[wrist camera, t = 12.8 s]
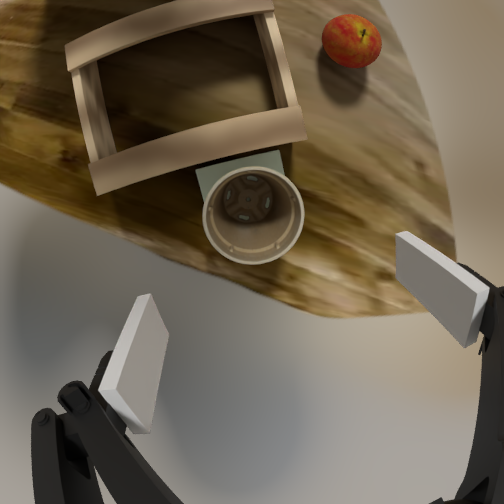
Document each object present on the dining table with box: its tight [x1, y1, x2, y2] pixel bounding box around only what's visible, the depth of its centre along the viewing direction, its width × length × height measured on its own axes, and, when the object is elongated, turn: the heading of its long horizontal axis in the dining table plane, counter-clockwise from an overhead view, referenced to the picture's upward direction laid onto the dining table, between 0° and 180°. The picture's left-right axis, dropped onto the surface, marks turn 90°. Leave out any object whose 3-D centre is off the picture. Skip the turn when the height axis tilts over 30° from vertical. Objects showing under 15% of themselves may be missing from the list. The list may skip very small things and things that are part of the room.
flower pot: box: [202, 166, 304, 265], centre depth 31 cm, size 9×9×9 cm
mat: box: [196, 150, 285, 220], centre depth 36 cm, size 10×10×1 cm
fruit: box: [322, 14, 382, 68], centre depth 26 cm, size 7×7×8 cm
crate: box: [65, 0, 307, 196], centre depth 27 cm, size 18×22×7 cm
